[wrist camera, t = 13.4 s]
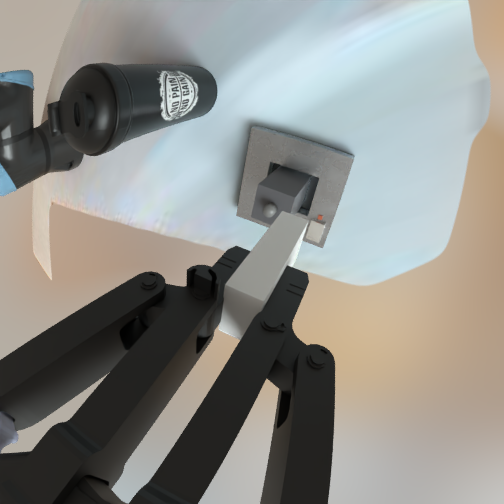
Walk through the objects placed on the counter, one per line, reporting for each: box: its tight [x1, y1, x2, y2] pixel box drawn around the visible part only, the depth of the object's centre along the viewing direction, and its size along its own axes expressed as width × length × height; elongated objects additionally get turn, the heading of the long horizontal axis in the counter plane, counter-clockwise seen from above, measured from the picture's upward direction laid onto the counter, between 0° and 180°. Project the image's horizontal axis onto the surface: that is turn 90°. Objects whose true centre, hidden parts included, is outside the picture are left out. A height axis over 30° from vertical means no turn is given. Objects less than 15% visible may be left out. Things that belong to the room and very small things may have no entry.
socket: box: [236, 126, 355, 248], centre depth 39 cm, size 14×14×3 cm
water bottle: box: [47, 63, 217, 156], centre depth 29 cm, size 10×10×23 cm
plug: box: [251, 165, 312, 225], centre depth 36 cm, size 4×4×10 cm
